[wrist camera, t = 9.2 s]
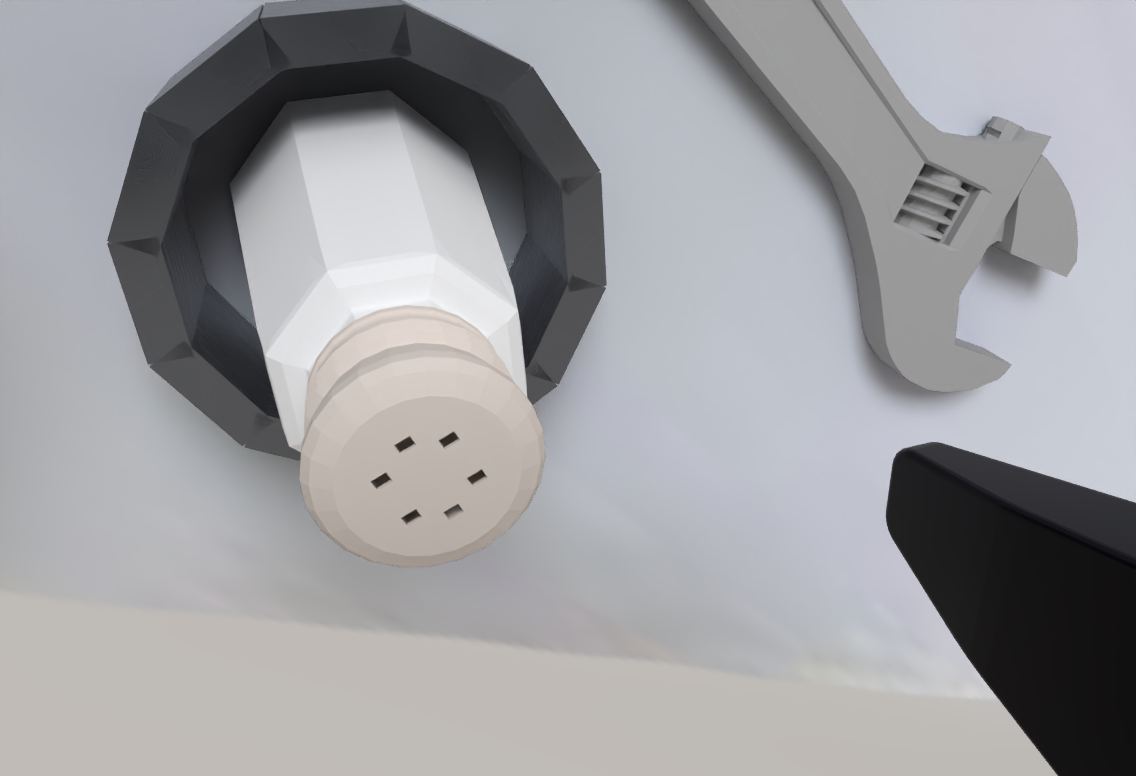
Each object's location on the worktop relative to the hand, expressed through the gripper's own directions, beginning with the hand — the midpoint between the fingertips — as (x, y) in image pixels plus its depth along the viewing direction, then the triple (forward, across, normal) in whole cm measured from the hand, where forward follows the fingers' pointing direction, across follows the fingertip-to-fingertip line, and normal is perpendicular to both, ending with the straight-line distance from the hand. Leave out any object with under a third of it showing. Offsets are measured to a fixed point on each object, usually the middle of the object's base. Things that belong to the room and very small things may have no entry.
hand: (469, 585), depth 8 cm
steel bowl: (+13, 0, 0) cm, 13 cm away
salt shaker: (+13, 0, 0) cm, 13 cm away
